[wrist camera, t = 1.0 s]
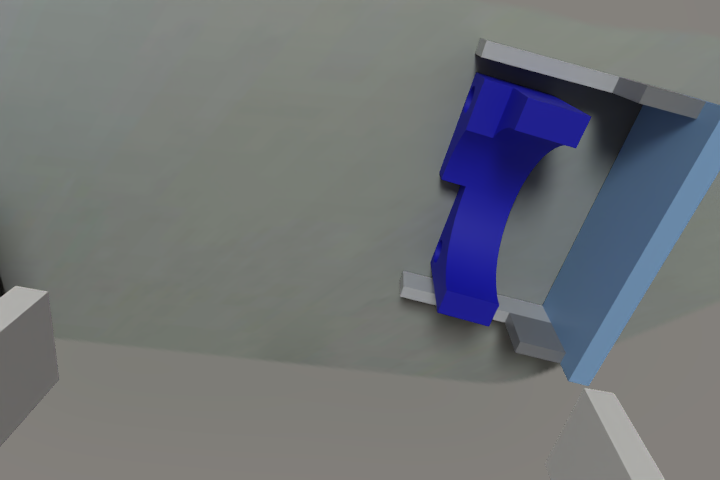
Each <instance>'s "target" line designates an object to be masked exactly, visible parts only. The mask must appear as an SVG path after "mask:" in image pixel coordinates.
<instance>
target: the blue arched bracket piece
mask: <svg viewBox="0 0 720 480" xmlns="http://www.w3.org/2000/svg"><path fill="white" fill-rule="evenodd" d="M590 119H591V116H589V115H587V114H586V113H584V112H582V111H580V110H578V109H577V108H575V107H573V106H571V105H569V104H568V103H566V102H564V101H562V100H560V99H559V98H557V97H555V96H553V95H550V94H547V93H544V92H540V91H537V90H534V89H530V88H527V87H524V86H521V85H517V84H514V83H511V82H507V81H504V80H501V79H497V78H494V77H491V76H488V75H484V74H481V73H478V72H476V74H475V77H474V80H473V82H472V85H471V88H470V91H469V93H468V96H467V99H466V101H465V104H464V107H463V110H462V112H461V115H460V118H459V121H458V123H457V126H456V129H455V132H454V134H453V137H452V140H451V142H450V145H449V148H448V151H447V153H446V156H445V159H444V162H443V164H442V167H441V170H440V176H441V180H445V181H448V182H452V183H455V184H459V185H461V186H460V188H459V191H458V193H457V196H456V199H455V201H454V204H453V206H452V209H451V211H450V214H449V216H448V219H447V222H446V224H445V227H444V229H443V232H442V234H441V237H440V239H439V242H438V244H437V247H436V250H435V252H434V255H433V257H432V260H431V269H432V277H433V284H434V291H435V298H436V305H437V313H441V314H445V315H448V316H452V317H456V318H459V319H463V320H467V321H470V322H474V323H478V324H481V325H485V326H489V325H490V323H491V321H492V319H493V317H494V315H495V313H496V311H497V309H498V307H499V302H498V297H497V291H496V267H497V258H498V252H499V247H500V242H501V238H502V234H503V231H504V227H505V224H506V221H507V218H508V216H509V213H510V210H511V208H512V205H513V203H514V201H515V199H516V197H517V195H518V193H519V191H520V189H521V187H522V185H523V183H524V182H525V180H526V178H527V177H528V175H529V174H530V172H531V171H532V170H533V168H534V167H535V166H536V164H537V163H538V162H539V161H540V160H541V159H542V158H543V157H544V156H545V155H546V154H547V153H549V152H550V151H551V150H553V149H554V148H557V147H559V146H562V145H566V146H570V147H573V148H576V147H577V145H578V143H579V141H580V139H581V137H582V135H583V133H584V131H585V129H586V127H587V125H588V123H589V121H590Z"/></svg>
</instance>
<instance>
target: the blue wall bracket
mask: <svg viewBox="0 0 720 480" xmlns="http://www.w3.org/2000/svg"><path fill="white" fill-rule="evenodd" d="M475 54H477V55H478V56H480V57H483V58H487V59H490V60H494V61H497V62H501V63H505V64H508V65H512V66H516V67H519V68H523V69H527V70H530V71H534V72H538V73H541V74H545V75H549V76H552V77H556V78H560V79H563V80H567V81H570V82H574V83H578V84H581V85H585V86H589V87H592V88H596V89H600V90H603V91H607V92H611V93H614V94H616V95H619V96H621V97H624V98H627V99H629V100H632V101H634V102H637V103H640V104H643V106H642V108H641V110H640V112H639V114H638V116H637V118H636V120H635V122H634V124H633V126H632V128H631V130H630V132H629V134H628V136H627V138H626V140H625V142H624V144H623V146H622V148H621V150H620V152H619V154H618V156H617V158H616V160H615V162H614V164H613V166H612V168H611V170H610V172H609V174H608V176H607V178H606V180H605V182H604V184H603V186H602V188H601V190H600V192H599V194H598V196H597V198H596V200H595V202H594V204H593V206H592V208H591V210H590V212H589V214H588V216H587V218H586V220H585V222H584V224H583V226H582V228H581V230H580V232H579V234H578V236H577V238H576V240H575V242H574V244H573V246H572V248H571V250H570V252H569V254H568V256H567V258H566V260H565V262H564V264H563V266H562V268H561V270H560V272H559V274H558V276H557V278H556V280H555V282H554V284H553V286H552V288H551V290H550V292H549V294H548V296H547V298H546V300H545V302H544V304H543V306H542V305H538V304H534V303H530V302H526V301H522V300H518V299H514V298H510V297H506V296H502V295H498V294H497V297H498V302H499V307H498V309H497V311H496V313H495V315H494V317H493V320H497V321H501V322H505V325H506V328H507V331H508V333H509V336H510V339H511V342H512V345H513V348H514V351H515V352H516V353H520V354H524V355H528V356H532V357H536V358H540V359H544V360H548V361H552V362H556V363H560V364H561V366H562V368H563V371H564V373H565V375H566V377H567V379H568V381H570V382H574V383H578V384H583V385H586V386H589V384H590V382H591V381H592V379H593V378H594V376H595V375H596V373H597V371H598V370H599V368H600V366H601V365H602V363H603V361H604V360H605V358H606V357H607V355H608V353H609V352H610V350H611V348H612V347H613V345H614V343H615V342H616V340H617V338H618V337H619V335H620V334H621V332H622V330H623V329H624V327H625V325H626V324H627V322H628V320H629V319H630V317H631V315H632V314H633V312H634V310H635V309H636V307H637V306H638V304H639V302H640V301H641V299H642V297H643V296H644V294H645V292H646V291H647V289H648V287H649V286H650V284H651V283H652V281H653V279H654V278H655V276H656V274H657V273H658V271H659V269H660V268H661V266H662V264H663V263H664V261H665V260H666V258H667V256H668V255H669V253H670V251H671V250H672V248H673V246H674V245H675V243H676V241H677V240H678V238H679V237H680V235H681V233H682V232H683V230H684V228H685V227H686V225H687V223H688V222H689V220H690V218H691V217H692V215H693V213H694V212H695V210H696V209H697V207H698V205H699V204H700V202H701V200H702V199H703V197H704V195H705V194H706V192H707V190H708V189H709V187H710V186H711V184H712V182H713V181H714V179H715V177H716V176H717V174H718V172H719V171H720V105H717V104H714V103H711V102H707V101H704V100H701V99H697V98H694V97H690V96H687V95H684V94H680V93H677V92H674V91H670V90H666V89H663V88H659V87H656V86H652V85H648V84H645V83H641V82H637V81H634V80H630V79H627V78H623V77H619V76H616V75H612V74H608V73H605V72H601V71H598V70H594V69H590V68H587V67H583V66H579V65H576V64H572V63H569V62H565V61H561V60H558V59H554V58H550V57H547V56H543V55H540V54H536V53H532V52H529V51H525V50H521V49H518V48H514V47H511V46H507V45H503V44H500V43H496V42H492V41H489V40H485V39H482V38H480V41H479V44H478V47H477V50H476V53H475ZM400 297H404V298H408V299H412V300H416V301H420V302H424V303H428V304H432V305H436V298H435V291H434V284H433V278H430V277H426V276H422V275H418V274H414V273H410V272H406V271H403V272H402V276H401V279H400ZM436 306H437V305H436Z"/></svg>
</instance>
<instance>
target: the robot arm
mask: <svg viewBox="0 0 720 480" xmlns="http://www.w3.org/2000/svg"><path fill="white" fill-rule="evenodd" d="M58 380H59V374H58V365H57V358H56V349H55V342H54V333H53V325H52V317H51V309H50V301H49V293H48V292H47V291H42V290H36V289H31V288H25V287H20V286H15V287H14V288H12V289H11V290H10V291H8V292H7V293H6V294H4V295H3V296H2V291H1V286H0V446H1V445H2V444H3V443H4V442H5V440H6V439H7V438H8V437H9V436H10V435H11V434H12V432H13V431H14V430H15V429H16V428H17V427H18V426H19V425H20V423H21V422H22V421H23V420H24V419H25V418H26V417H27V415H28V414H29V413H30V412H31V411H32V410H33V409H34V408H35V406H36V405H37V404H38V403H39V402H40V401H41V400H42V398H43V397H44V396H45V395H46V394H47V393H48V392H49V390H50V389H51V388H52V387H53V386H54V385H55V384H56V383H57V381H58ZM545 465H546V468H547V471H548V474H549V477H550V480H665V479H664V478H663V476H662V474H661V472H660V470H659V469H658V467H657V466H656V464H655V462H654V460H653V459H652V457H651V455H650V454H649V452H648V450H647V449H646V447H645V445H644V443H643V442H642V440H641V438H640V436H639V435H638V433H637V431H636V430H635V428H634V426H633V425H632V423H631V421H630V419H629V418H628V416H627V414H626V413H625V411H624V409H623V408H622V406H621V404H620V402H619V401H618V399H617V397H616V396H615V394H614V393H610V392H604V391H599V390H593V389H587V388H584V389H583V391H582V393H581V395H580V397H579V399H578V401H577V403H576V404H575V406H574V408H573V410H572V412H571V414H570V416H569V418H568V420H567V422H566V424H565V426H564V428H563V430H562V432H561V434H560V436H559V438H558V439H557V441H556V443H555V445H554V447H553V449H552V451H551V453H550V455H549V457H548V459H547V461H546V463H545Z"/></svg>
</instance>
